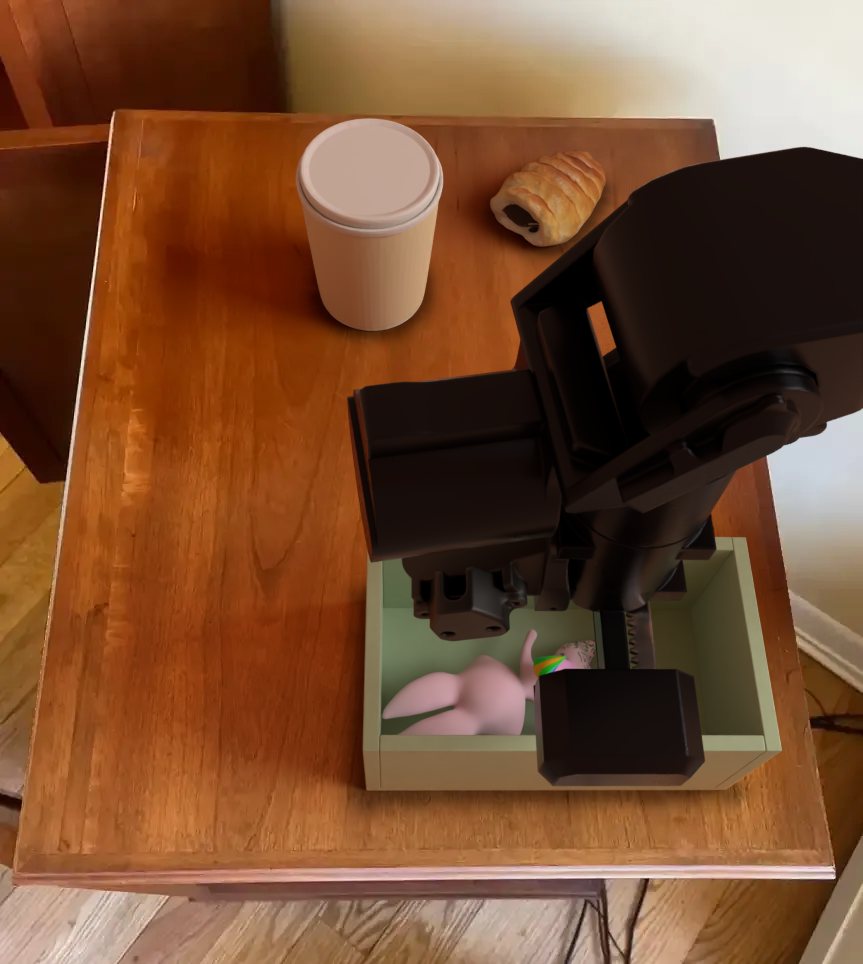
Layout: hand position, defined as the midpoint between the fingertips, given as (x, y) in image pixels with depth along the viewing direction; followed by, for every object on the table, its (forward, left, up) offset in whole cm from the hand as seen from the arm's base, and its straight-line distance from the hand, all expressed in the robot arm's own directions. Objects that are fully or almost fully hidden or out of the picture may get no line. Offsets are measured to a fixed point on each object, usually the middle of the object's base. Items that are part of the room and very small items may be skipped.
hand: (569, 625), depth 51 cm
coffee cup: (+28, -14, -12) cm, 34 cm away
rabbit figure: (+1, +2, -10) cm, 10 cm away
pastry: (+24, -29, -12) cm, 40 cm away
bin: (0, 0, -11) cm, 11 cm away
